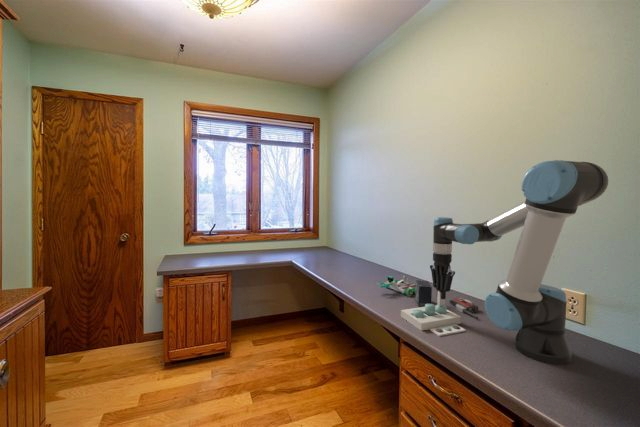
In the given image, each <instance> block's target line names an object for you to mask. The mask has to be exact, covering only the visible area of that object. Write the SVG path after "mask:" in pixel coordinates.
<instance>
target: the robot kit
mask: <svg viewBox="0 0 640 427" xmlns="http://www.w3.org/2000/svg"><path fill="white" fill-rule="evenodd" d="M375 286H380V288H386V289H392V290H395V291H397V292H400V293H401V294H405V296H407V297H411V296H413V294H415V295H416V283H413V284H412V282H410V281H408V277H407V276H406V275H403V276H402V279H401V280H398V279H395V278H394V276H391V275H388V276H387V281H378V282H376V283H375Z"/></svg>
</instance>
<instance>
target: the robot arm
mask: <svg viewBox="0 0 640 427" xmlns="http://www.w3.org/2000/svg"><path fill="white" fill-rule="evenodd" d="M608 186H609V177H608V174H607V172H606V170H605V169H604V168H602V167H601V166H599V165H598V164H596V163H593V162H589V161H575V160H574V161H571V160H561V159H559V160H558V159H555V160H546V161H542V162H539V163H537V164H535V165H534V166H532V167H530V168H529V169H528V170H527V171H526V173H525V174H524V176H523V177H522V181H521V186H520V187H521V191H522V193H523V197H525V200H524V201H522V202H521V203H519V204H516V205H515V206H513V207H511V208H508V209H507V210H504V211H503V212H501V213H499V214H498V215H496V216H494V217H492V218H490V219H487V220H486V221H484V222H481V223H480V222H479V223H454V220H453V218H452V217H444V216H443V217H442V216H441V217H440V216H439V217H438V216H437V217H435V218H434V220H433V240H432V241H433V242H432V243H433V244H432V246H433V247H432V252H433V253H432V261H433V264H432V265H429V268H430V271H431V279H432V288H435V290H436V299H437V300H436V302H437V303H436V305H438V306H446V304H445V303H446V299H447V298H446V296H447V292H450V291H451V288H452V284H453V279H454V276H455V274H456V271H454V270H452V269H451V263H452V261H453V260H452V256H453V254H452V251H453V243H460V244H462V245H474V244H475V243H477V242H478V243H481V242H482V243H483V242H489V243H490V242H494V241H498V240H500V239H501V238H502V236H504V235H506V234H508V233H510V232H513V231H515V230H518V229H520V228H522V230H521V233H520V236H519V240H518V242H517V246H516V248H515V251H514V254H513V257H512V260H511V263H510V267H509V269H508V273H507V276H506V278H505V279H502V280H500V281H499V282H498V284H497V287H496V290H495V292H492V293H490V294H488V295H487V296H486V297H485V300H484V309H485V312H486V314H487V317H488V318H489V320H490V321H491V322H492V324H494V325H495V326H496V327H497V328H499V329H501V330H504V331H506V332H507V331H508V332H509V331H511V332H512V331H518V332H517V333H516V336H515V338H514V347H515V349H516V350H517V351H518V352H520V353H521V355H524V356H526V357H528V358H530V359H533V360H536V361H538V362H541V363H546V364H551V365H568V364H569V363H571V362H572V350H571V349H570V346H569V343H568V340H567V337H566V318H567V316H566V314H567V304H568V301H567V294H566V292H565V291H564V290H562V289H561V288H557V287H555V286H550V285H546V284H542V282H543V280H544V277H545V275H546V272H547V269H548V266H549V264H550V261H551V258H552V256H553V253H554V251H555V247H556V246H557V242H558V240H559V237H560V235H561V232H562V230H563V227H564V224H565V221H566V219H567V218H569V217H571V216H574V215H575V214H576V213H577V211H578V210H577V209H578V207H579V206H580V207H581V206H582V205H584V204H588V203H590V202H592V201H594V200H596V199H598V198H599V197H601V196H602V195H603V194H604V193H605V191H606V190H607V188H608Z"/></svg>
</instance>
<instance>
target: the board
mask: <svg viewBox="0 0 640 427" xmlns="http://www.w3.org/2000/svg"><path fill="white" fill-rule="evenodd" d="M434 305H435V315H434V316H428V315H426V314H425V307H414V308H413V307H412V308H406V309H400V317H401V318H402V319H404V320H405V321H406V320H407V322H408V323H409V324H411V325H412V326H414V327H416V328H417V329H418V330H420V331H425V330H430V329H433V328H439V327H444V326H450V325H461V324H462V316H460V315H459V314H456V313H455V312H453V311H451V310H449V309H447V314H439V313H437V312H436V305H437V304H434ZM414 310H422V311H423V312H424V317H422V318H416V317H415V316H413V311H414Z"/></svg>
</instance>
